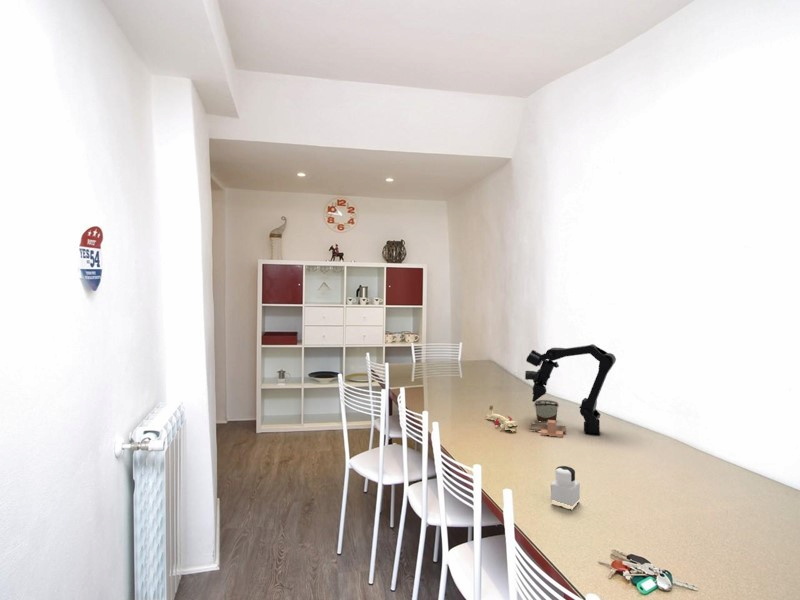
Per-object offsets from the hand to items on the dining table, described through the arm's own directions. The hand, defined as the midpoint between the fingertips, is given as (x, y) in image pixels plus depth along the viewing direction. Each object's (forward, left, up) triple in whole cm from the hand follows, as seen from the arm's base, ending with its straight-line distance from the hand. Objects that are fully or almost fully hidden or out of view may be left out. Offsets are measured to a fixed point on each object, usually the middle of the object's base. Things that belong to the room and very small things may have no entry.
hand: (533, 397), depth 240 cm
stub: (-9, +16, -13) cm, 22 cm away
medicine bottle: (-16, +83, -13) cm, 86 cm away
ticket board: (-7, +9, -13) cm, 18 cm away
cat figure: (+15, +8, -14) cm, 22 cm away
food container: (-5, -7, -13) cm, 16 cm away
